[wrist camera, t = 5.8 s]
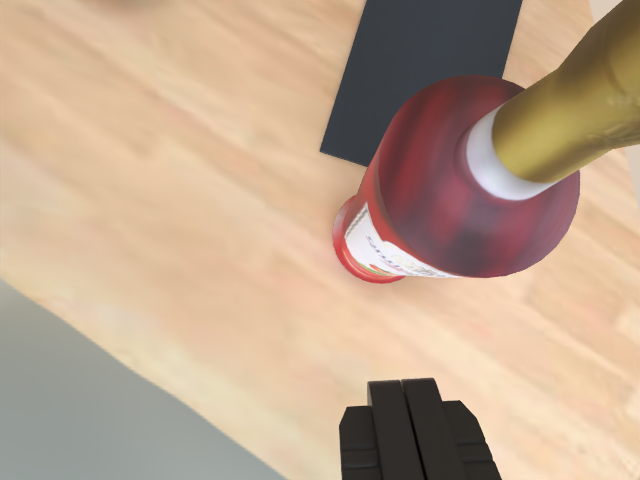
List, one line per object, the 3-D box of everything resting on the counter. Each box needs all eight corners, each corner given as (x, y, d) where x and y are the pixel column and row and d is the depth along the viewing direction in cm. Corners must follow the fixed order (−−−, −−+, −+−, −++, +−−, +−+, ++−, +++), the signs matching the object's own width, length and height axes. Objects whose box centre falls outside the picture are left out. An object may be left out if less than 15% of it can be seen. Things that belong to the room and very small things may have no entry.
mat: (468, 199, 36) (470, 198, 36) (319, 151, 36) (319, 150, 35) (526, -18, 39) (527, -20, 38) (387, -65, 38) (388, -68, 38)
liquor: (438, 211, 36) (965, -72, 8) (404, 302, 35) (873, 329, 7) (349, 174, 36) (578, -245, 8) (312, 264, 35) (428, 143, 7)
